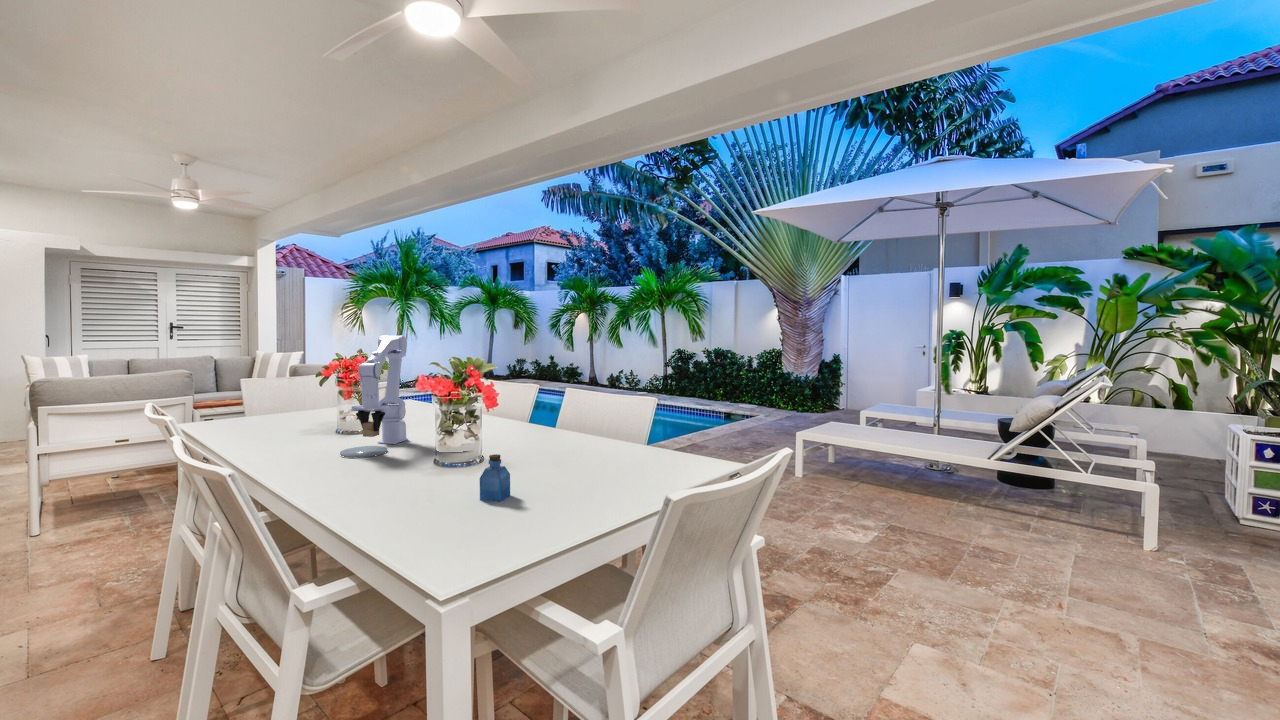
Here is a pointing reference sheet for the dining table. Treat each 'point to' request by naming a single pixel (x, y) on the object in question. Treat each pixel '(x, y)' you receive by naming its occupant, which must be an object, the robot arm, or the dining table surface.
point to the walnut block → (369, 429)
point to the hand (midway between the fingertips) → (371, 430)
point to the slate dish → (363, 451)
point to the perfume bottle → (495, 481)
